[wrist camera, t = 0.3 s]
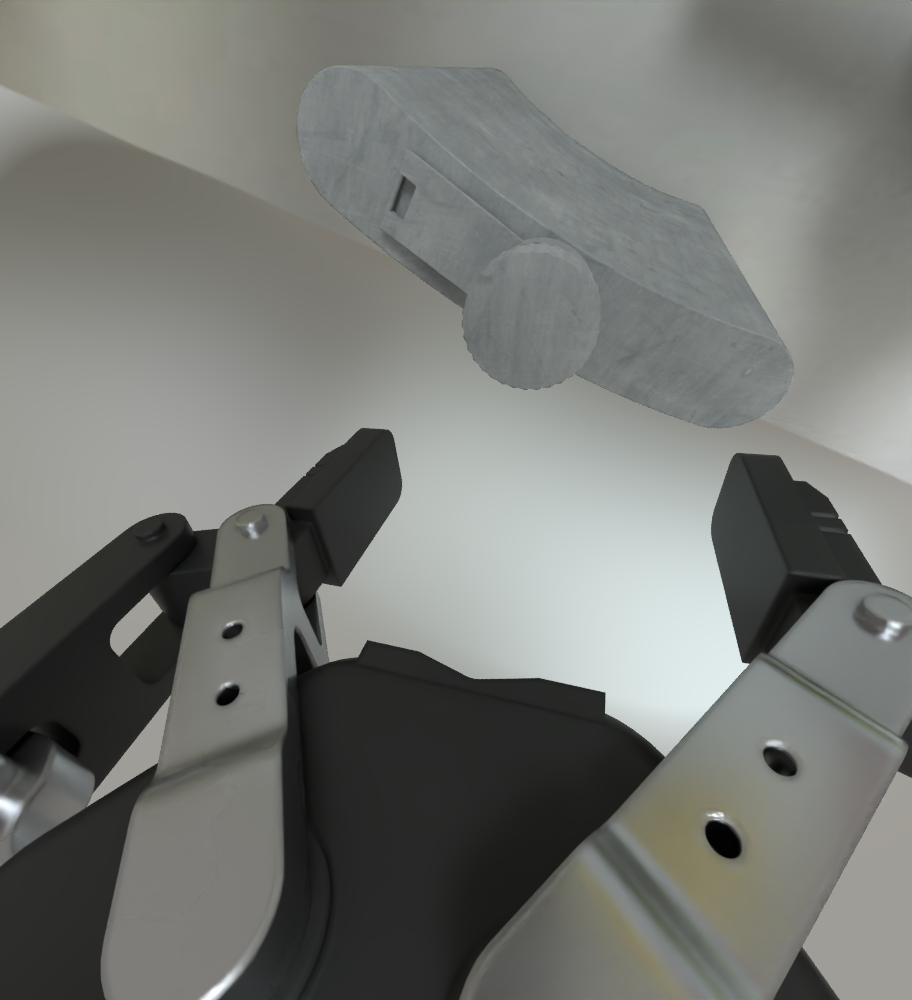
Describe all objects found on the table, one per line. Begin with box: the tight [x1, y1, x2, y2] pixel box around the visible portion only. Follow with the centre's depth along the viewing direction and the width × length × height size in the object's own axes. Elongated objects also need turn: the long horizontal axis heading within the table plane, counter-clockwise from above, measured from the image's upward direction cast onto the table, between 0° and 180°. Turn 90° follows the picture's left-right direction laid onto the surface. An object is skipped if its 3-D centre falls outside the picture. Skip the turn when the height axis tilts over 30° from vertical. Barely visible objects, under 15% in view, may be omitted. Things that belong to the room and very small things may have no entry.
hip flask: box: [297, 65, 794, 428], centre depth 18 cm, size 16×4×20 cm, turn 65°
